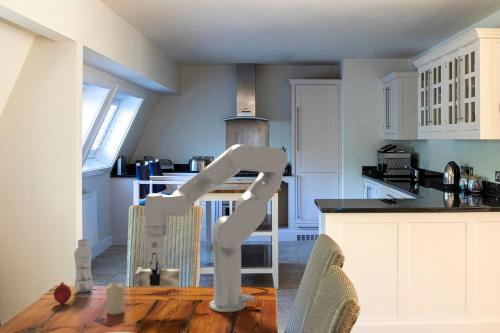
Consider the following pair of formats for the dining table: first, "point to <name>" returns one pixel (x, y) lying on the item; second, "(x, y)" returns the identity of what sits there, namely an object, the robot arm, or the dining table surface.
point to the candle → (115, 298)
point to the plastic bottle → (83, 267)
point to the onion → (62, 293)
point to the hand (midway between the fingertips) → (155, 283)
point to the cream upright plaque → (166, 277)
